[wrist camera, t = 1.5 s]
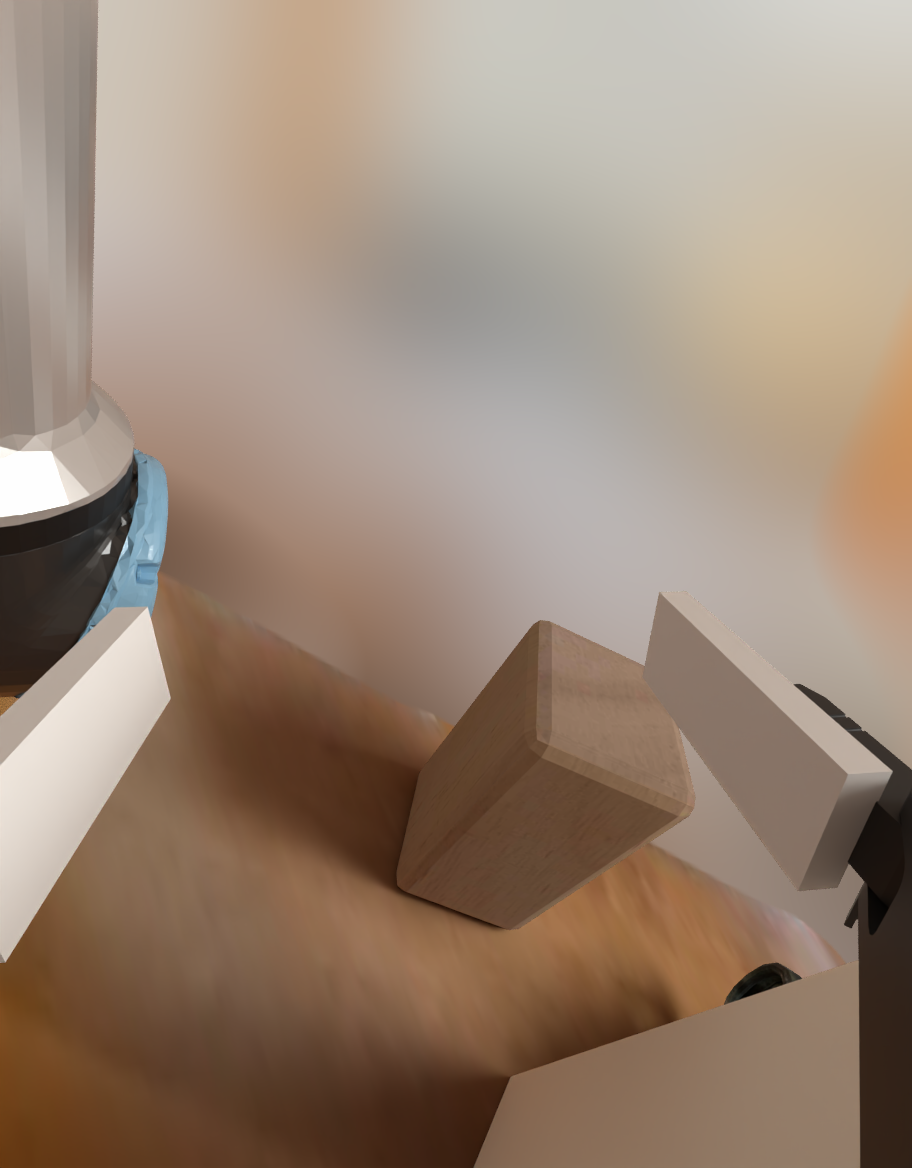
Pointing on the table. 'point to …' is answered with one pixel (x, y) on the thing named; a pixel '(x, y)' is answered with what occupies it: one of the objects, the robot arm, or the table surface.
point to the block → (544, 782)
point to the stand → (701, 1090)
